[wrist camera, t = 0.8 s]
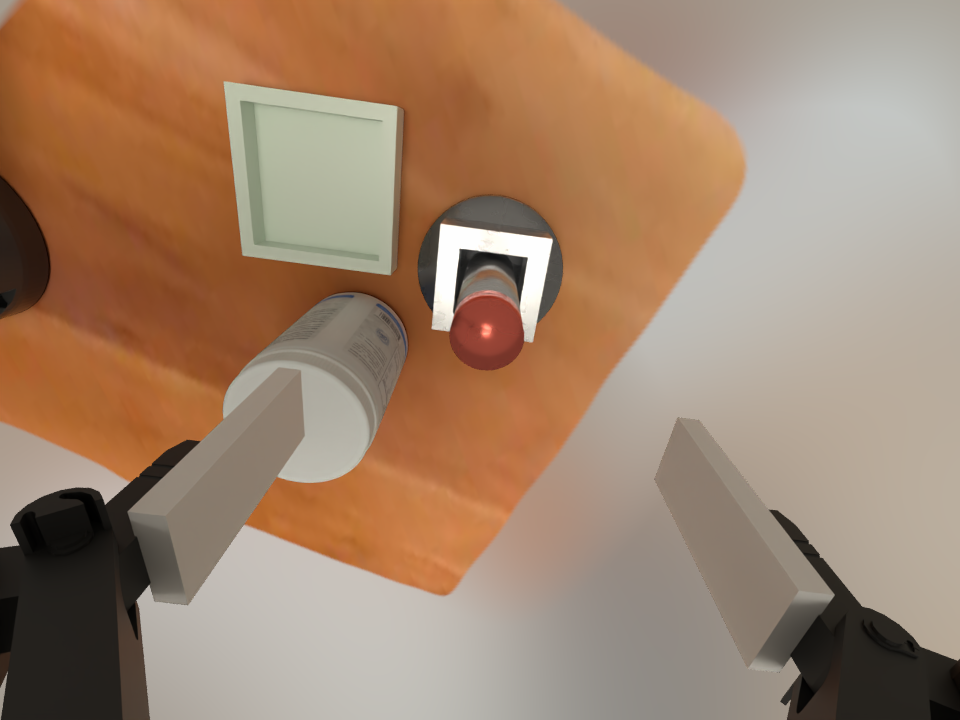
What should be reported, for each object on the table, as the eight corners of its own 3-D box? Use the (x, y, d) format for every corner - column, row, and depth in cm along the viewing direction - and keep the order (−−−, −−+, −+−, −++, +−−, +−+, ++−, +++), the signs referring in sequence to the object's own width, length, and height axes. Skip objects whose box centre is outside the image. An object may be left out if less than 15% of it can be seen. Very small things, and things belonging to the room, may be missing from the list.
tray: (258, 249, 37) (242, 255, 35) (242, 86, 32) (223, 81, 30) (397, 268, 37) (390, 275, 35) (404, 109, 32) (397, 106, 30)
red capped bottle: (463, 293, 36) (446, 365, 24) (468, 245, 35) (453, 296, 22) (509, 299, 37) (517, 374, 24) (517, 252, 35) (530, 306, 22)
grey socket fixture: (416, 324, 39) (405, 349, 34) (425, 185, 34) (414, 189, 29) (545, 341, 40) (552, 368, 35) (574, 205, 35) (587, 213, 30)
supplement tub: (304, 369, 42) (215, 468, 29) (313, 276, 38) (214, 341, 25) (401, 393, 43) (359, 500, 29) (420, 304, 39) (381, 381, 25)
